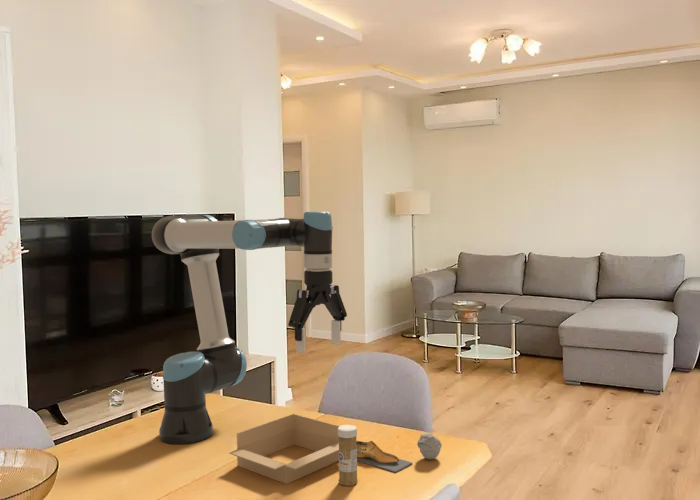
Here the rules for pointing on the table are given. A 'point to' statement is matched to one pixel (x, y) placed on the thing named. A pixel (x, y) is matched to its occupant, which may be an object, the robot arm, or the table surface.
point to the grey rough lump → (429, 445)
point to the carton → (281, 436)
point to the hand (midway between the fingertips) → (319, 348)
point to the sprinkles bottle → (347, 455)
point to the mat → (390, 467)
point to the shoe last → (374, 453)
